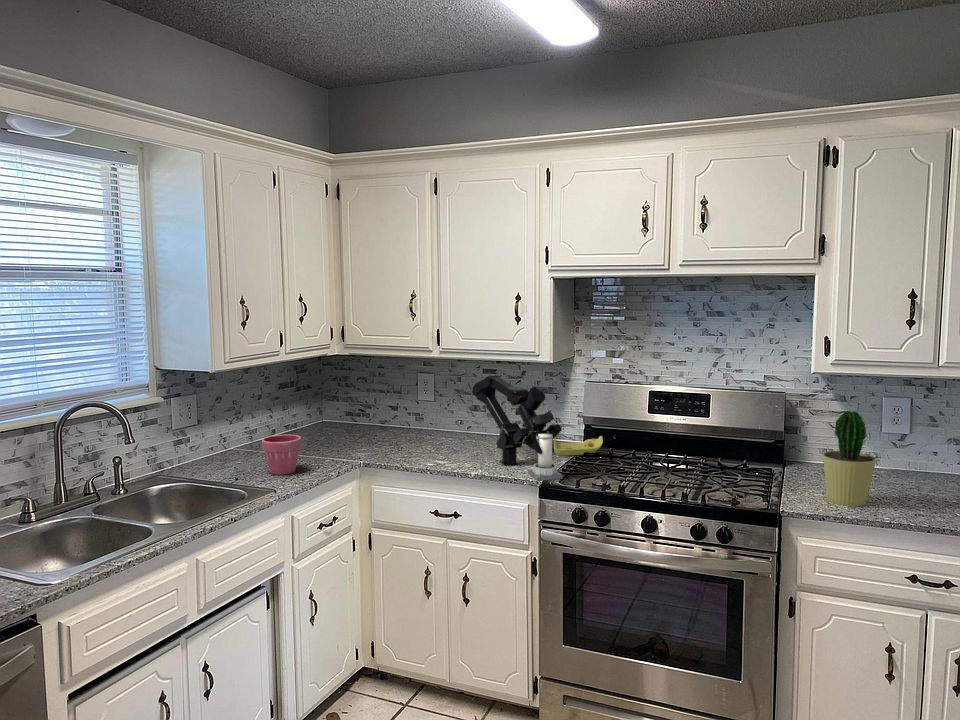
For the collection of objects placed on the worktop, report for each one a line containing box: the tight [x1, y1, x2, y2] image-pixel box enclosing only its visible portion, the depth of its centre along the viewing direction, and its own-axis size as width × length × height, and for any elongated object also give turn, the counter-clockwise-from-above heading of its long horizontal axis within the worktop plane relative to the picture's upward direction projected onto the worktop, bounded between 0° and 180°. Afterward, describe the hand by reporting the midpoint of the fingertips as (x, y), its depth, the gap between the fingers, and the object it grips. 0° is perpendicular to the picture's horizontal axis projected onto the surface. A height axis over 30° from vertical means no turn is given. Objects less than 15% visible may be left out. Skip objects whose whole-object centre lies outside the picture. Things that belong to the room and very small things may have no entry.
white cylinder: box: [537, 433, 554, 468], centre depth 261 cm, size 5×5×13 cm
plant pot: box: [261, 434, 302, 475], centre depth 268 cm, size 14×14×13 cm
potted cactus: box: [822, 410, 877, 507], centre depth 232 cm, size 15×15×30 cm
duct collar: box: [527, 462, 563, 482], centre depth 262 cm, size 10×10×4 cm
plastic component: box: [553, 435, 604, 456], centre depth 298 cm, size 20×7×10 cm
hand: (547, 452), depth 260 cm, fingers closed on white cylinder, 5 cm apart
